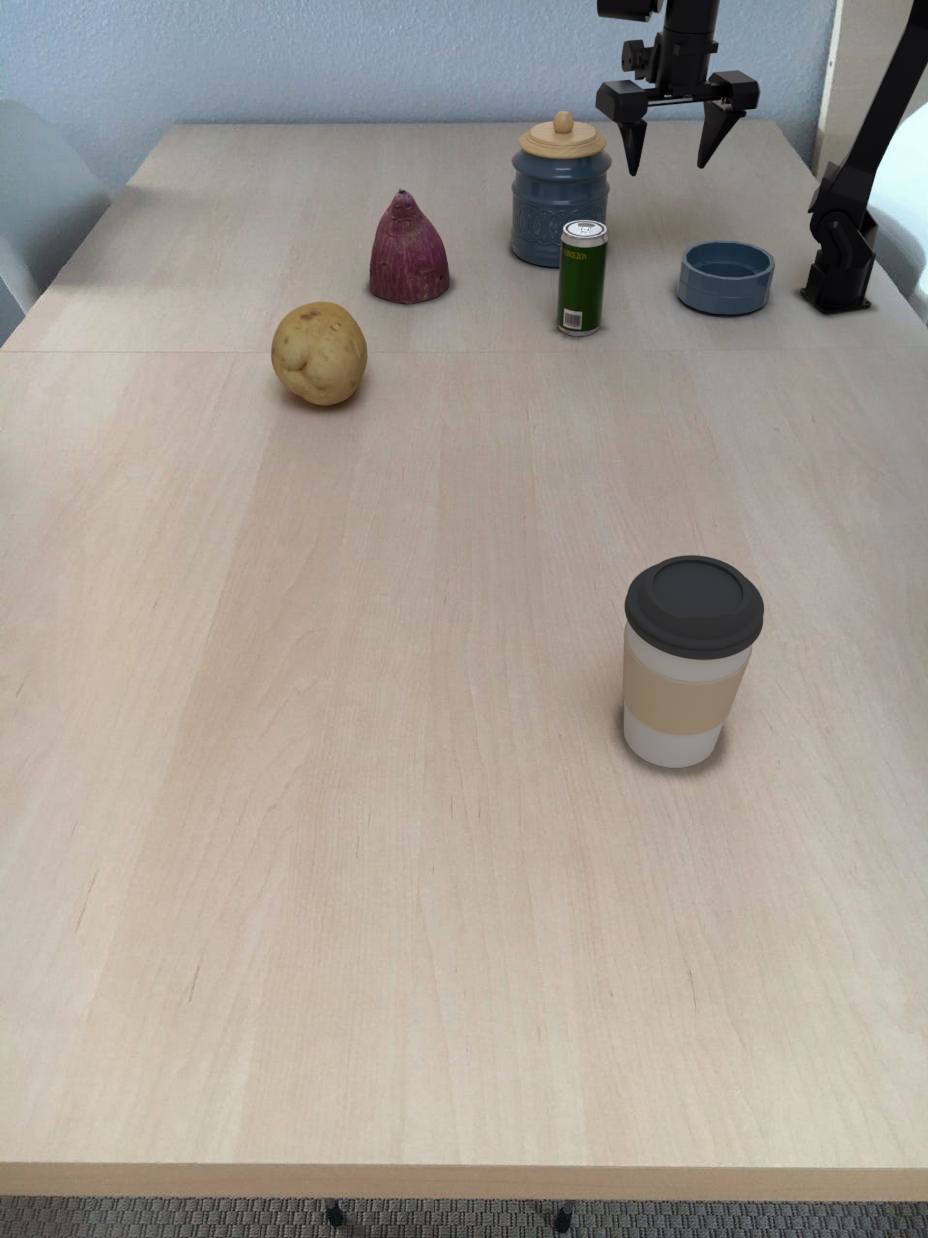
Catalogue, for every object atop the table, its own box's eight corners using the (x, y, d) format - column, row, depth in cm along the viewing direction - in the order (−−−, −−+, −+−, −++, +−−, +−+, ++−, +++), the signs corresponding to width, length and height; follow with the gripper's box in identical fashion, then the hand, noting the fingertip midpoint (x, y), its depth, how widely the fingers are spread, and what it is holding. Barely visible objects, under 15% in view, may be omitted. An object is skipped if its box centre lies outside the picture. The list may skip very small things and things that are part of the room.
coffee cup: (599, 692, 77) (615, 542, 67) (713, 683, 78) (747, 533, 67) (622, 785, 71) (644, 636, 60) (746, 775, 71) (790, 625, 61)
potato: (374, 362, 115) (366, 279, 108) (366, 421, 106) (358, 335, 99) (286, 364, 115) (273, 281, 108) (271, 423, 106) (256, 337, 99)
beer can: (597, 339, 118) (605, 240, 110) (552, 334, 119) (557, 236, 111) (603, 318, 122) (611, 221, 113) (560, 314, 123) (565, 217, 114)
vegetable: (438, 327, 128) (443, 228, 115) (360, 311, 128) (356, 211, 115) (456, 273, 133) (463, 173, 120) (382, 258, 134) (380, 157, 121)
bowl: (741, 273, 130) (748, 235, 127) (783, 310, 122) (791, 271, 119) (662, 284, 128) (667, 246, 125) (699, 323, 120) (705, 284, 117)
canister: (496, 261, 134) (497, 121, 122) (528, 224, 143) (532, 91, 131) (589, 275, 130) (599, 133, 118) (616, 237, 139) (628, 100, 127)
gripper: (727, 3, 118) (703, 141, 129) (583, 13, 113) (570, 155, 124) (776, 28, 110) (746, 172, 121) (624, 40, 106) (607, 188, 117)
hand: (666, 171), depth 121 cm, fingers open, 9 cm apart
